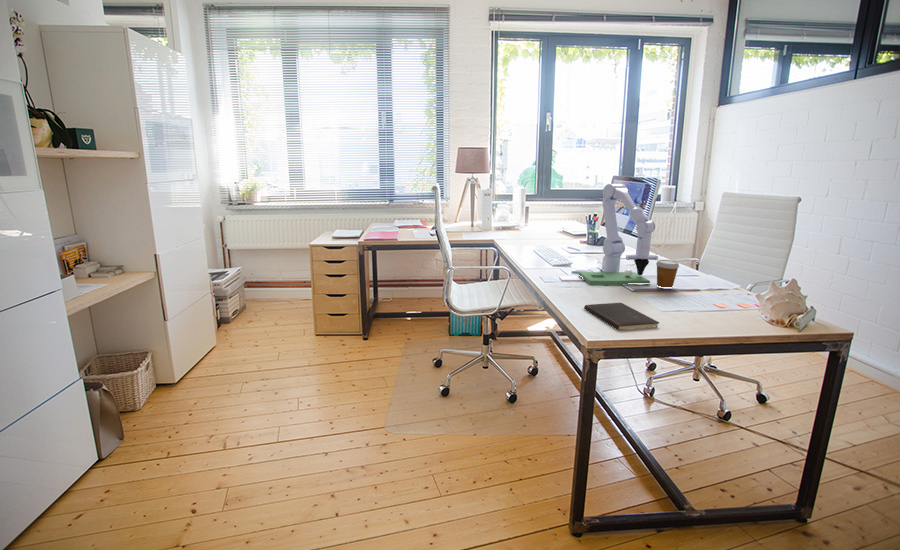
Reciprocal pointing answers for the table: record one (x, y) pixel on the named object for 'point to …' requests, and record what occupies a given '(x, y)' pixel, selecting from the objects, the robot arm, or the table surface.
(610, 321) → the hardcover book
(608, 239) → the robot arm
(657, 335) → the table surface
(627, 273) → the ball
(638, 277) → the putting mat
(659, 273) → the disposable coffee cup
